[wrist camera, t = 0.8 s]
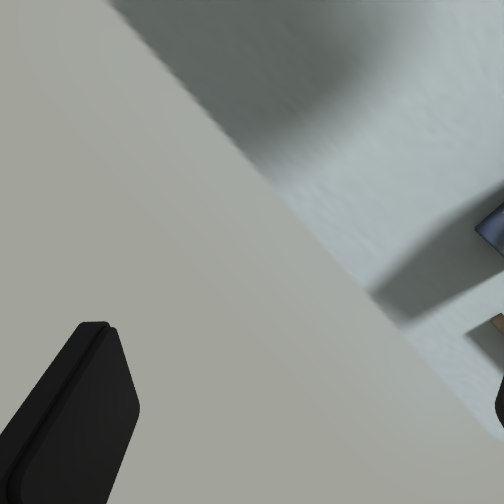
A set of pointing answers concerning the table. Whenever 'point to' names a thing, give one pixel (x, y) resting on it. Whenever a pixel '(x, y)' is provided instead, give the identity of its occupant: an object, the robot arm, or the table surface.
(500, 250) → the small box
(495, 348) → the table surface
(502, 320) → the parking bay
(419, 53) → the table surface
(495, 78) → the table surface
